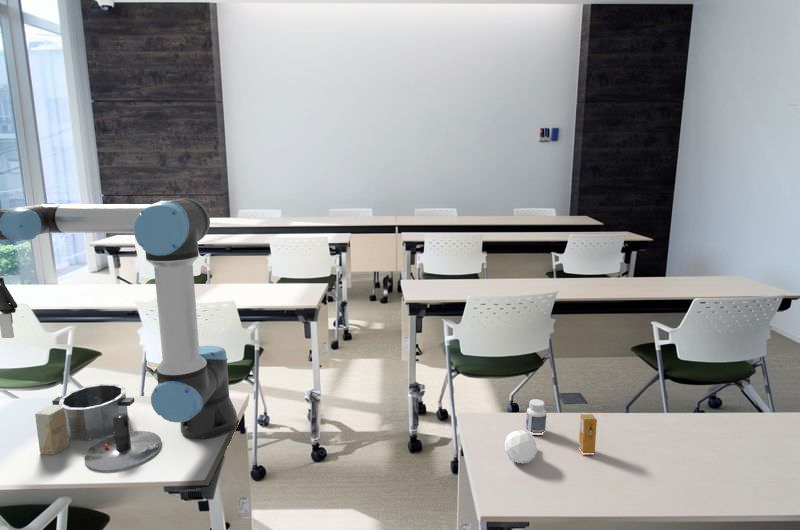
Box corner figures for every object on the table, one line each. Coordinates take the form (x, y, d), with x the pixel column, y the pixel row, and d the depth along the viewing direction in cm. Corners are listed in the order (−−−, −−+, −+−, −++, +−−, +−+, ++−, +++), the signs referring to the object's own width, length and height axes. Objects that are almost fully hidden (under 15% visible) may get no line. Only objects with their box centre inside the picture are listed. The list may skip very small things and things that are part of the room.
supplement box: (590, 448, 138) (593, 413, 136) (594, 455, 135) (597, 420, 133) (577, 448, 138) (580, 413, 136) (581, 455, 135) (584, 419, 133)
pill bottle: (549, 433, 146) (551, 403, 144) (536, 438, 143) (538, 408, 141) (534, 425, 150) (536, 396, 148) (521, 430, 147) (523, 401, 145)
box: (53, 455, 134) (47, 415, 132) (39, 453, 135) (33, 413, 133) (70, 444, 139) (64, 406, 137) (56, 443, 140) (50, 404, 138)
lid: (173, 435, 144) (169, 401, 142) (140, 473, 127) (136, 434, 125) (110, 434, 145) (106, 400, 143) (69, 471, 128) (63, 433, 125)
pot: (148, 412, 157) (145, 384, 155) (119, 440, 141) (115, 409, 139) (76, 411, 157) (72, 383, 155) (39, 439, 141) (34, 408, 140)
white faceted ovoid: (495, 451, 130) (503, 434, 141) (521, 476, 128) (527, 456, 139) (515, 430, 128) (522, 414, 139) (542, 454, 126) (546, 436, 137)
